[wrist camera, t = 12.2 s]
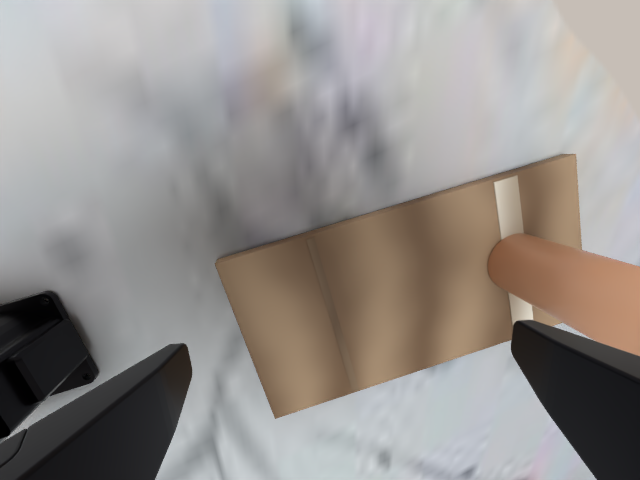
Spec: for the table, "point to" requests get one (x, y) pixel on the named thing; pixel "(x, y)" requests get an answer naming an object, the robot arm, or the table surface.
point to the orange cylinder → (572, 287)
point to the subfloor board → (393, 285)
